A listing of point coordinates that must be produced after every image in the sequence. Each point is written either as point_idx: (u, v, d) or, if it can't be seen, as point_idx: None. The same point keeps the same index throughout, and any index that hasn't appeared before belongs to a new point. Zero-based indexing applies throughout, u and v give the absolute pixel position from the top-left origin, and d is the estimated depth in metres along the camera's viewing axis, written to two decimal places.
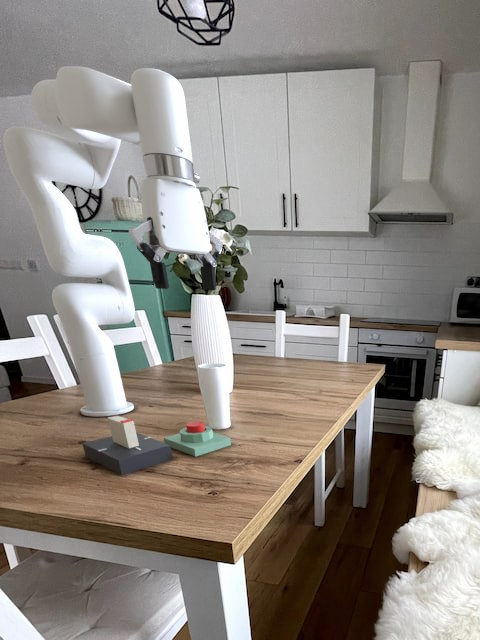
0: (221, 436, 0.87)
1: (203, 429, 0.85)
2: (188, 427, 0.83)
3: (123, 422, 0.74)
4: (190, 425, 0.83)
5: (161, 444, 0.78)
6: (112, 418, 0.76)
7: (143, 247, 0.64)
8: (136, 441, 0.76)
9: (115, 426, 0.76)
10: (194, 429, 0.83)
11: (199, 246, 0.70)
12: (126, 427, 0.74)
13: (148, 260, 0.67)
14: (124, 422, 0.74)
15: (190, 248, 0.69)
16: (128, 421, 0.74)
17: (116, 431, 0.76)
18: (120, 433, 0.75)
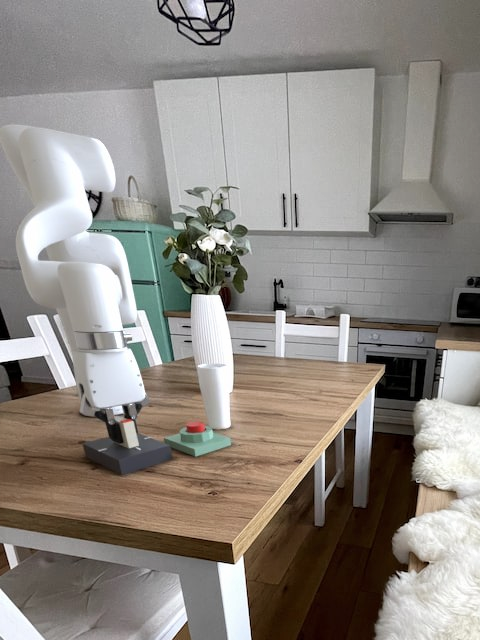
0: (221, 436, 0.87)
1: (203, 429, 0.85)
2: (188, 427, 0.83)
3: (123, 422, 0.74)
4: (190, 425, 0.83)
5: (161, 444, 0.78)
6: None
7: (97, 415, 0.71)
8: (136, 441, 0.76)
9: None
10: (194, 429, 0.83)
11: (133, 397, 0.75)
12: (126, 427, 0.74)
13: (103, 421, 0.74)
14: (124, 422, 0.74)
15: (123, 402, 0.73)
16: (128, 421, 0.74)
17: None
18: None
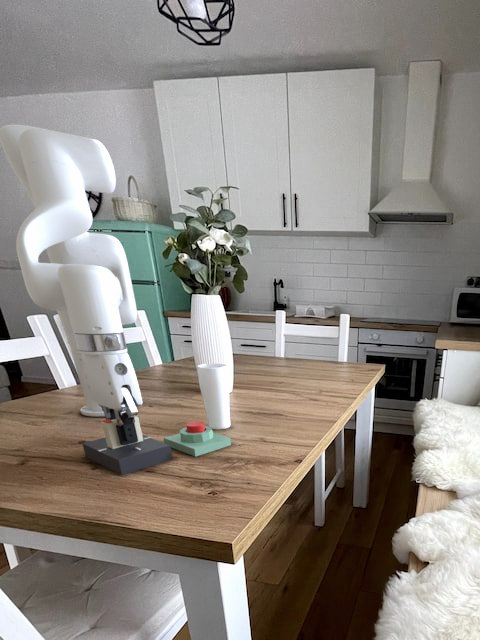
0: (221, 436, 0.87)
1: (203, 429, 0.85)
2: (188, 427, 0.83)
3: None
4: (190, 425, 0.83)
5: (161, 444, 0.78)
6: None
7: (102, 409, 0.76)
8: (110, 443, 0.75)
9: None
10: (194, 429, 0.83)
11: (109, 403, 0.71)
12: (103, 426, 0.74)
13: None
14: None
15: (105, 405, 0.72)
16: (104, 422, 0.73)
17: None
18: None
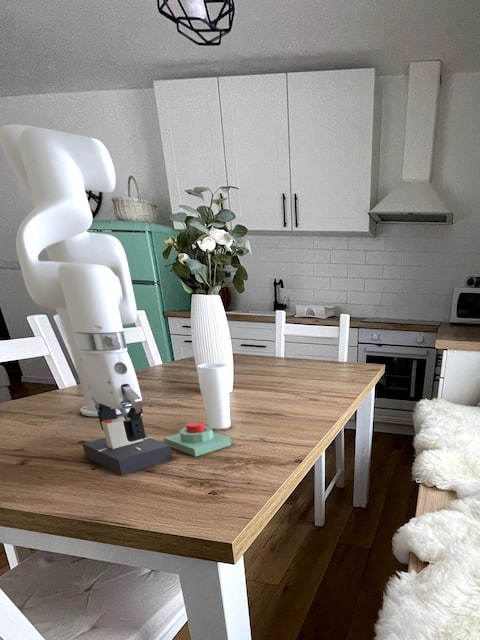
0: (221, 436, 0.87)
1: (203, 429, 0.85)
2: (188, 427, 0.83)
3: None
4: (190, 425, 0.83)
5: (161, 444, 0.78)
6: None
7: (92, 398, 0.78)
8: (110, 443, 0.75)
9: None
10: (194, 429, 0.83)
11: (109, 402, 0.71)
12: (103, 426, 0.74)
13: None
14: None
15: (105, 404, 0.72)
16: (104, 422, 0.73)
17: None
18: None
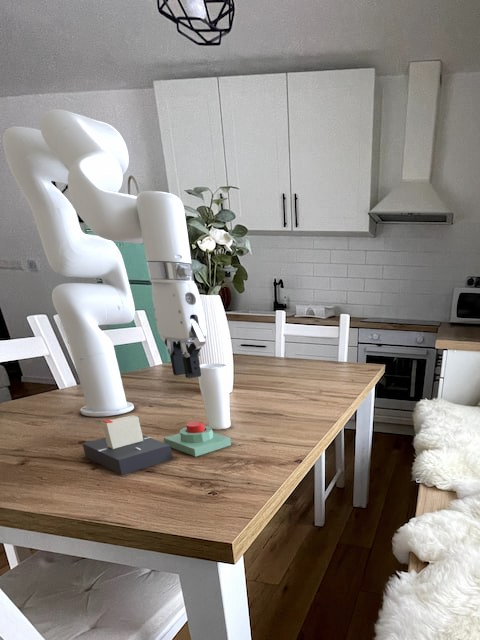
0: (221, 436, 0.87)
1: (203, 429, 0.85)
2: (188, 427, 0.83)
3: None
4: (190, 425, 0.83)
5: (161, 444, 0.78)
6: (127, 416, 0.77)
7: (165, 343, 0.79)
8: (110, 443, 0.75)
9: None
10: (194, 429, 0.83)
11: (177, 334, 0.74)
12: (103, 426, 0.74)
13: None
14: None
15: (172, 336, 0.75)
16: (104, 422, 0.73)
17: None
18: None
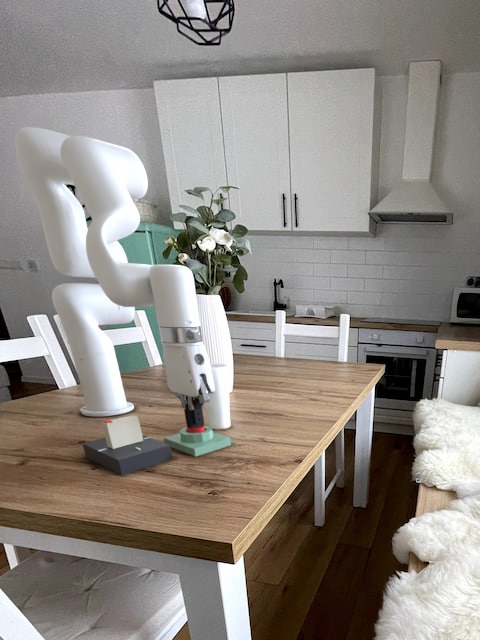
0: (221, 436, 0.87)
1: None
2: (188, 429, 0.84)
3: None
4: (190, 428, 0.84)
5: (161, 444, 0.78)
6: (127, 416, 0.77)
7: (179, 397, 0.83)
8: (110, 443, 0.75)
9: None
10: (194, 432, 0.84)
11: (187, 391, 0.79)
12: (103, 426, 0.74)
13: None
14: None
15: (182, 392, 0.80)
16: (104, 422, 0.73)
17: None
18: None
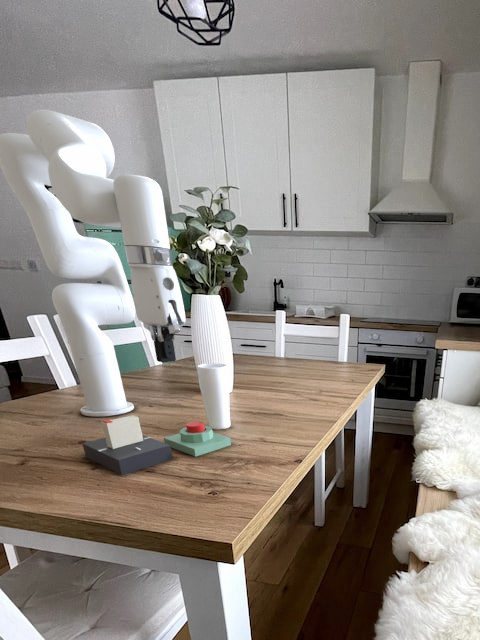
0: (221, 436, 0.87)
1: (203, 429, 0.85)
2: (188, 427, 0.83)
3: None
4: (190, 425, 0.83)
5: (161, 444, 0.78)
6: (127, 416, 0.77)
7: (148, 329, 0.79)
8: (110, 443, 0.75)
9: None
10: (194, 429, 0.83)
11: (156, 319, 0.75)
12: (103, 426, 0.74)
13: None
14: None
15: (151, 321, 0.76)
16: (104, 422, 0.73)
17: None
18: None
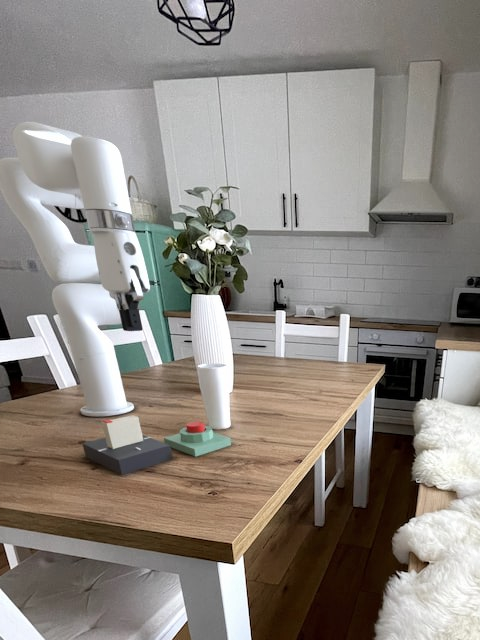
0: (221, 436, 0.87)
1: (203, 429, 0.85)
2: (188, 427, 0.83)
3: None
4: (190, 425, 0.83)
5: (161, 444, 0.78)
6: (127, 416, 0.77)
7: (114, 298, 0.79)
8: (110, 443, 0.75)
9: None
10: (194, 429, 0.83)
11: (119, 285, 0.74)
12: (103, 426, 0.74)
13: None
14: None
15: (114, 288, 0.76)
16: (104, 422, 0.73)
17: None
18: None
